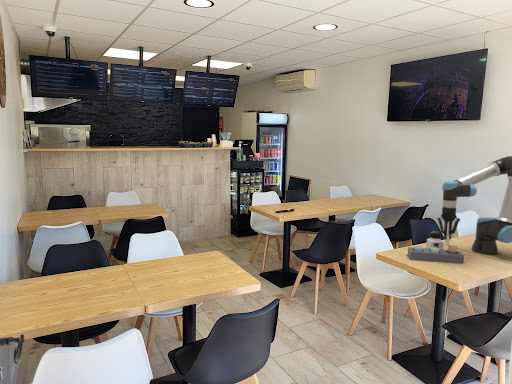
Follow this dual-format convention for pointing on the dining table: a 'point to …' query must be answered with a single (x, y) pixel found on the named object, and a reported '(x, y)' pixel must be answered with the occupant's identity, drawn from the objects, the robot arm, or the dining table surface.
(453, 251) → the terracotta button
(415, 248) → the slate button
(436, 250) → the sage button
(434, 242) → the container
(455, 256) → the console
